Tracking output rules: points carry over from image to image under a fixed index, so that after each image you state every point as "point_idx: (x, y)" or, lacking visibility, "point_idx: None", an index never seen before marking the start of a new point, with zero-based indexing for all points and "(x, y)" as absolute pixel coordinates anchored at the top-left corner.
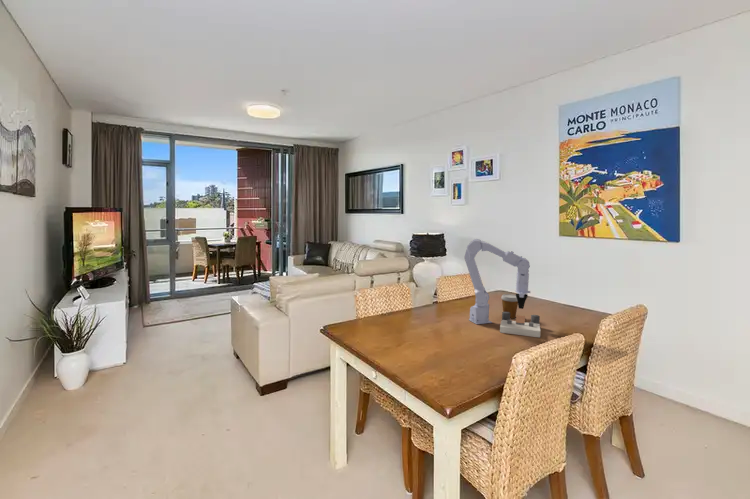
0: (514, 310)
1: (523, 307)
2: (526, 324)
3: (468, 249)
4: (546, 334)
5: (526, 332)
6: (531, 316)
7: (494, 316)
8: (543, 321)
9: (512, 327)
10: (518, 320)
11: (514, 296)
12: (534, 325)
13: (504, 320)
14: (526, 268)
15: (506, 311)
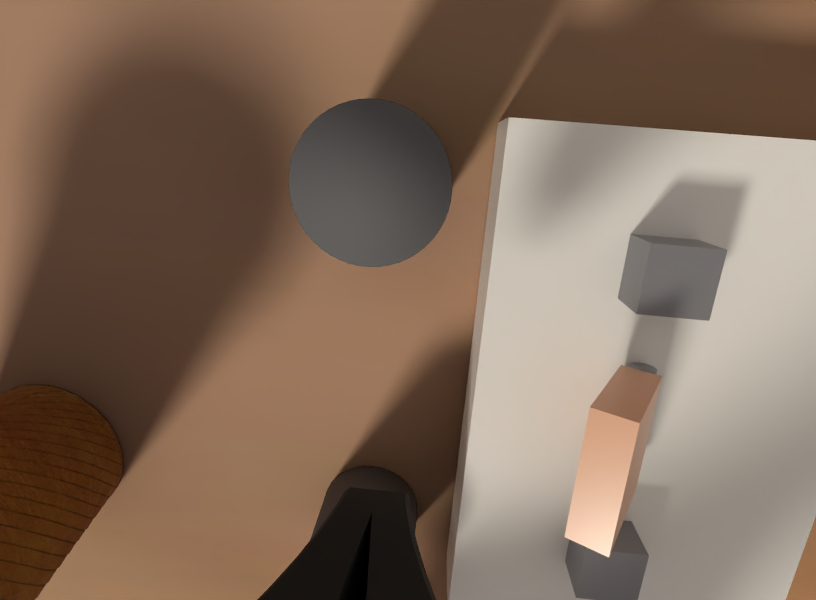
0: (18, 469)
1: (409, 510)
2: (593, 329)
3: None
4: (697, 37)
5: None
6: (398, 260)
7: (121, 595)
8: (31, 7)
9: (789, 521)
10: (637, 474)
11: None
12: (620, 213)
13: (474, 585)
14: None
15: (67, 551)
